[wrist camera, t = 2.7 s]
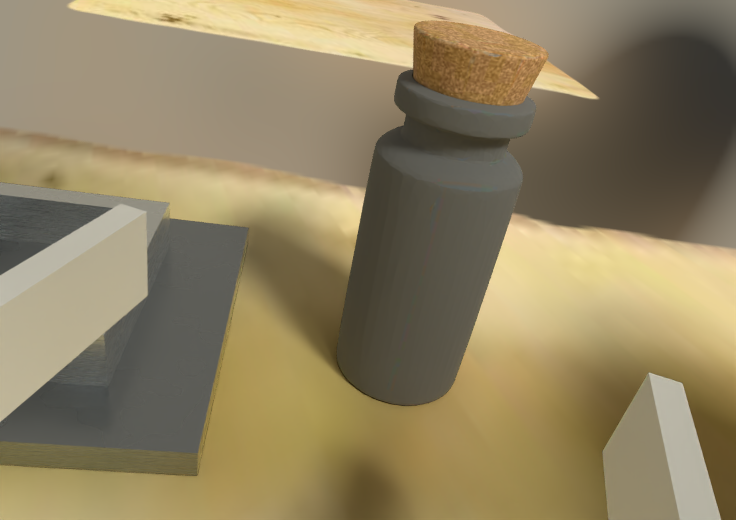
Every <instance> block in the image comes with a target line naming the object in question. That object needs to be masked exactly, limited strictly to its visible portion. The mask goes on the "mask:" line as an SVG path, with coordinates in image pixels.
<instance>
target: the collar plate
mask: <svg viewBox="0 0 736 520" xmlns="http://www.w3.org/2000/svg"><path fill="white" fill-rule="evenodd" d="M120 204H124V205H127V206H130V207H133V208H136V209H139V210H142V211H146V216H147V277H148V296H147V297H146V298H144V299H143V300H142V301H141V302H140V303H139V304H137V305H136V306H135V307H134V308H133V309H132V310H130V311H129V312H128V313H127V314H126V315H125V316H123V317H122V318H121V319H120V320H119V321H118V322H116V323H115V324H114V325H113V326H112V327H111V328H109V329H108V330H107V331H106V332H105V333H104V334H102V335H101V336H100V337H99V338H98V339H97V340H95V341H94V342H93V343H92V344H91V345H90V346H88V347H87V348H86V349H85V350H84V351H83V352H81V353H80V354H79V355H78V356H77V357H76V358H74V359H73V360H72V361H71V362H70V363H69V364H67V365H66V366H65V367H64V368H63V369H62V370H60V371H59V372H58V373H57V374H56V375H55V376H53V377H52V378H51V379H50V380H49V381H48V382H46V383H45V384H44V385H43V386H42V387H41V388H39V389H38V390H37V391H36V392H35V393H34V394H32V395H31V396H30V397H29V398H28V399H27V400H25V401H24V402H23V403H22V404H21V405H20V406H18V407H17V408H16V409H15V410H14V411H13V412H11V413H10V414H9V415H8V416H7V417H6V418H4V419H3V420H2V421H1V422H0V465H14V466H32V467H50V468H67V469H85V470H103V471H120V472H138V473H156V474H174V475H191V476H197V474H198V470H199V465H200V460H201V456H202V451H203V447H204V442H205V437H206V433H207V428H208V424H209V419H210V415H211V410H212V405H213V401H214V396H215V392H216V387H217V382H218V378H219V373H220V369H221V364H222V359H223V355H224V350H225V346H226V341H227V337H228V332H229V327H230V323H231V318H232V314H233V309H234V304H235V300H236V295H237V291H238V286H239V281H240V277H241V272H242V268H243V263H244V259H245V254H246V249H247V243H248V230H249V228H246V227H238V226H229V225H221V224H212V223H204V222H195V221H187V220H178V219H170V203H166V202H157V201H149V200H141V199H133V198H125V197H116V196H108V195H100V194H92V193H84V192H75V191H67V190H59V189H51V188H43V187H34V186H26V185H18V184H10V183H1V182H0V275H2V274H3V273H5V272H7V271H8V270H10V269H12V268H14V267H15V266H17V265H19V264H20V263H22V262H24V261H25V260H27V259H29V258H30V257H32V256H34V255H35V254H37V253H39V252H40V251H42V250H44V249H45V248H47V247H49V246H51V245H52V244H54V243H56V242H57V241H59V240H61V239H62V238H64V237H66V236H67V235H69V234H71V233H72V232H74V231H76V230H77V229H79V228H81V227H83V226H84V225H86V224H88V223H89V222H91V221H93V220H94V219H96V218H98V217H99V216H101V215H103V214H104V213H106V212H108V211H109V210H111V209H113V208H114V207H116V206H118V205H120Z"/></svg>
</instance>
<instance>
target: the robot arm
mask: <svg viewBox="0 0 736 520" xmlns="http://www.w3.org/2000/svg"><path fill="white" fill-rule="evenodd" d="M147 296H148V277H147V216H146V211H142V210H139V209H136V208H133V207H130V206H127V205H124V204H120V205H118V206H116V207H114V208H113V209H111V210H109V211H108V212H106V213H104V214H103V215H101V216H99V217H98V218H96V219H94V220H93V221H91V222H89V223H88V224H86V225H84V226H83V227H81V228H79V229H77V230H76V231H74V232H72V233H71V234H69V235H67V236H66V237H64V238H62V239H61V240H59V241H57V242H56V243H54V244H52V245H51V246H49V247H47V248H45V249H44V250H42V251H40V252H39V253H37V254H35V255H34V256H32V257H30V258H29V259H27V260H25V261H24V262H22V263H20V264H19V265H17V266H15V267H14V268H12V269H10V270H8V271H7V272H5V273H3V274H2V275H0V422H1V421H2V420H3V419H4V418H6V417H7V416H8V415H9V414H10V413H11V412H13V411H14V410H15V409H16V408H17V407H18V406H20V405H21V404H22V403H23V402H24V401H25V400H27V399H28V398H29V397H30V396H31V395H32V394H34V393H35V392H36V391H37V390H38V389H39V388H41V387H42V386H43V385H44V384H45V383H46V382H48V381H49V380H50V379H51V378H52V377H53V376H55V375H56V374H57V373H58V372H59V371H60V370H62V369H63V368H64V367H65V366H66V365H67V364H69V363H70V362H71V361H72V360H73V359H74V358H76V357H77V356H78V355H79V354H80V353H81V352H83V351H84V350H85V349H86V348H87V347H88V346H90V345H91V344H92V343H93V342H94V341H95V340H97V339H98V338H99V337H100V336H101V335H102V334H104V333H105V332H106V331H107V330H108V329H109V328H111V327H112V326H113V325H114V324H115V323H116V322H118V321H119V320H120V319H121V318H122V317H123V316H125V315H126V314H127V313H128V312H129V311H130V310H132V309H133V308H134V307H135V306H136V305H137V304H139V303H140V302H141V301H142V300H143V299H144V298H146V297H147ZM602 454H603V465H604V477H605V488H606V499H607V511H608V520H721V517H720V513H719V510H718V506H717V503H716V499H715V496H714V492H713V489H712V485H711V482H710V478H709V475H708V471H707V468H706V464H705V461H704V457H703V454H702V450H701V447H700V443H699V440H698V436H697V433H696V429H695V425H694V422H693V418H692V415H691V411H690V408H689V404H688V401H687V397H686V394H685V390H684V387H683V383H681V382H677V381H674V380H671V379H668V378H665V377H662V376H659V375H656V374H652V373H648V374H647V376H646V378H645V379H644V381H643V383H642V385H641V386H640V388H639V390H638V391H637V393H636V395H635V397H634V398H633V400H632V402H631V403H630V405H629V407H628V409H627V410H626V412H625V414H624V415H623V417H622V419H621V420H620V422H619V424H618V426H617V427H616V429H615V431H614V432H613V434H612V436H611V438H610V439H609V441H608V443H607V444H606V446H605V448H604V450H603V451H602Z"/></svg>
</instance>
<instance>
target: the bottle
mask: <svg viewBox="0 0 736 520" xmlns="http://www.w3.org/2000/svg"><path fill="white" fill-rule="evenodd" d="M547 58H548V52H547V51H546V50H545V49H544V48H542V47H540V46H539V45H536V44H534V43H532V42H530V41H528V40H525V39H522V38H519V37H516V36H513V35H510V34H507V33H503V32H499V31H495V30H491V29H487V28H483V27H479V26H473V25H467V24H461V23H454V22H447V21H421V22H418V23H416V24H415V26H414V51H413V70H408V71H405V72H403V73H401V74H400V75H399V78H398V80H397V85H396V90H395V95H394V101H395V103H396V105H397V106H398V107H399V109H400V110H401V111H403V112H404V113H405V114H406V118H405V122H404V126H400V127H397V128H395V129H393V130H391V131H388V132H387V133H385V134H384V135H382V137H380V138H379V140H378V141H377V143H376V146H375V150H374V154H373V159H372V164H371V169H370V173H369V179H368V184H367V188H366V193H365V198H364V203H363V209H362V214H361V219H360V224H359V230H358V235H357V240H356V246H355V251H354V256H353V262H352V267H351V272H350V277H349V283H348V288H347V293H346V299H345V304H344V310H343V316H342V321H341V327H340V333H339V338H338V344H337V361H338V364H339V367H340V369H341V371H342V372H343V374H344V376H345V377H346V378H347V379H348V381H349V382H350V383H352V384H353V385H354V386H355V387H356V388H357V389H359V390H360V391H362V392H364V393H365V394H367V395H369V396H371V397H373V398H375V399H377V400H381V401H384V402H388V403H391V404H397V405H420V404H425V403H429V402H432V401H435V400H437V399H439V398H440V397H442V396H443V395H444V394H446V393H447V392H448V390H449V389H450V388H451V386H452V384H453V383H454V381H455V378H456V375H457V372H458V370H459V367H460V364H461V361H462V359H463V356H464V353H465V350H466V347H467V345H468V342H469V339H470V336H471V333H472V330H473V327H474V325H475V322H476V319H477V316H478V313H479V310H480V307H481V304H482V301H483V298H484V295H485V292H486V290H487V287H488V284H489V281H490V278H491V275H492V272H493V269H494V266H495V263H496V260H497V257H498V254H499V251H500V248H501V245H502V242H503V239H504V236H505V233H506V230H507V227H508V224H509V221H510V218H511V215H512V212H513V209H514V207H515V203H516V201H517V197H518V194H519V191H520V188H521V184H522V180H523V174H522V171H521V168H520V166H519V164H518V163H517V161H516V160H515V158H514V157H513V156H512V155H511V154H510V153H509V152H508V151H507V147H508V144H509V141H510V139H512V138H517V137H521V136H523V135H525V134H526V133H528V131H529V129H530V127H531V124H532V122H533V118H534V115H535V112H536V105H535V103H534V102H533V100H531V99H530V98H529V97H527V95H528V93H529V91H530V89H531V87H532V86H533V84H534V82H535V80H536V78H537V76H538V75H539V73H540V71H541V69H542V67H543V66H544V64H545V62H546V60H547Z"/></svg>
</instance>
